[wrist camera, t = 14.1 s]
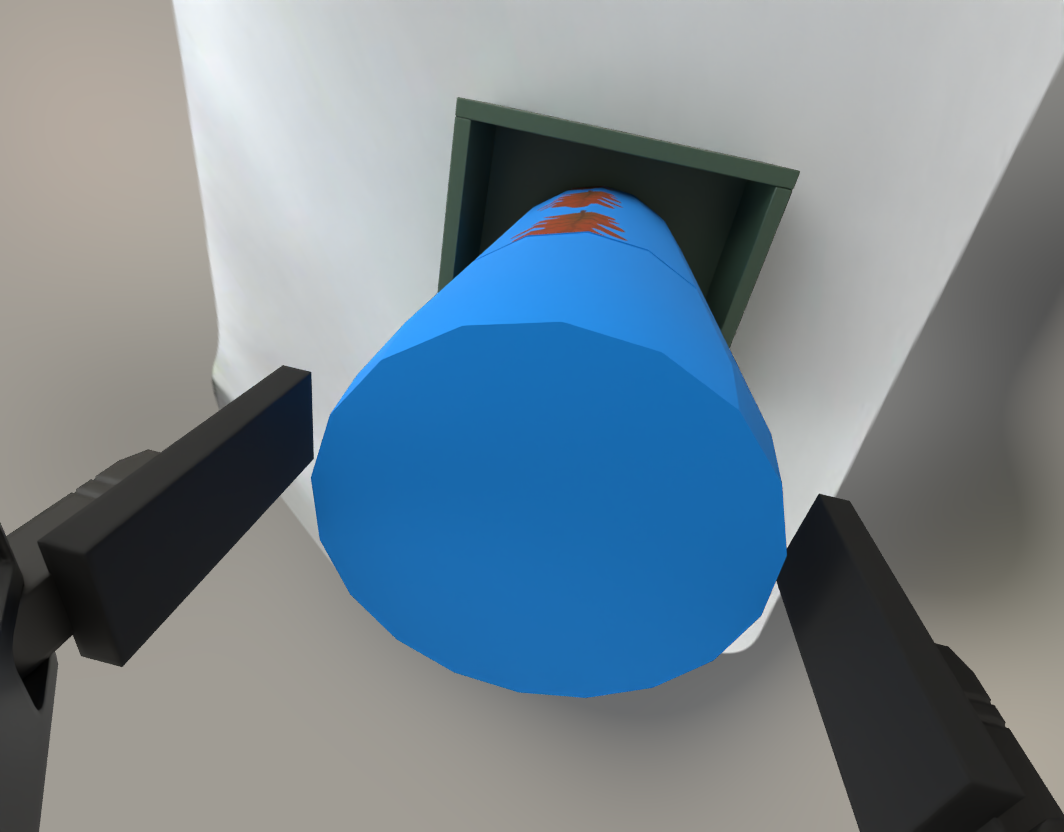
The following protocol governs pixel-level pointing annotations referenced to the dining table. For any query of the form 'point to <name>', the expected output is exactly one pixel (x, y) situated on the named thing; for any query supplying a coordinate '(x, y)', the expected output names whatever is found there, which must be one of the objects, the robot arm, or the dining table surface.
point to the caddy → (623, 164)
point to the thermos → (558, 464)
